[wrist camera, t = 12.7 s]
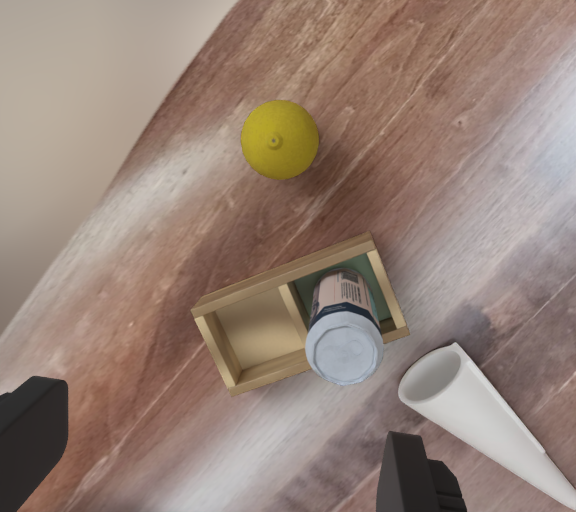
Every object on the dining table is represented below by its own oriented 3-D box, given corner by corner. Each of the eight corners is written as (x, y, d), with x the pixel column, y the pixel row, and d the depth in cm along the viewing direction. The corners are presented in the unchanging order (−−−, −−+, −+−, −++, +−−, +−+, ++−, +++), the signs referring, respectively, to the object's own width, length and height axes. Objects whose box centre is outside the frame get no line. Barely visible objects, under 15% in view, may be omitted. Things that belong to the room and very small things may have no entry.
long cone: (512, 520, 48) (390, 380, 43) (569, 481, 47) (450, 335, 43) (545, 572, 42) (409, 417, 38) (610, 528, 41) (478, 366, 37)
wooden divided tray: (201, 296, 44) (189, 310, 40) (369, 230, 41) (372, 239, 38) (239, 377, 45) (231, 397, 42) (404, 318, 42) (410, 335, 39)
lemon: (323, 172, 40) (320, 180, 33) (255, 178, 41) (235, 187, 33) (317, 100, 39) (313, 91, 31) (247, 107, 40) (225, 100, 32)
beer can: (302, 285, 42) (288, 342, 30) (351, 255, 41) (357, 302, 29) (333, 332, 42) (331, 405, 31) (383, 303, 42) (400, 368, 30)
